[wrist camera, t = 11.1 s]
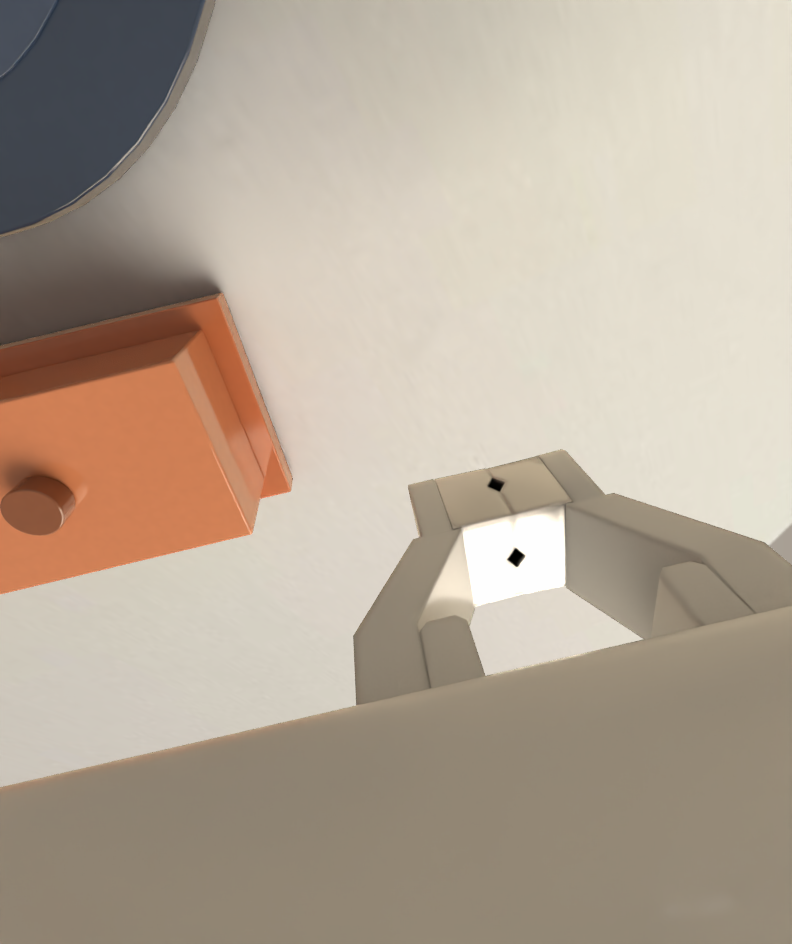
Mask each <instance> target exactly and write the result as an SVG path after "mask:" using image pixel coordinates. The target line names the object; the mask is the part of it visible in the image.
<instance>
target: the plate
mask: <svg viewBox="0 0 792 944" xmlns="http://www.w3.org/2000/svg"><path fill="white" fill-rule="evenodd" d="M214 6H215V0H0V237H3V236H9V235H12V234H15V233H18V232H21V231H25V230H28V229H31V228H34V227H38V226H41V225H44V224H47V223H50V222H52V221H54V220H56V219H58V218H60V217H62V216H64V215H66V214H67V213H69V212H71V211H73V210H75V209H77V208H79V207H81V206H83V205H85V204H87V203H88V202H89V201H91V200H92V199H93V198H95V197H96V196H97V195H99V194H100V193H101V192H103V191H104V190H105V189H107V188H108V187H109V186H111V185H112V184H113V183H115V182H116V181H117V180H119V179H120V178H121V177H122V176H123V175H124V174H125V172H126V171H127V170H128V169H129V168H130V167H131V166H132V165H133V164H134V163H135V162H136V161H137V160H138V159H139V158H140V157H141V155H142V154H143V153H144V152H145V151H146V150H147V149H148V148H149V147H150V145H151V144H152V142H153V141H154V139H155V138H156V136H157V135H158V133H159V132H160V130H161V129H162V127H163V126H164V124H165V123H166V121H167V120H168V118H169V117H170V115H171V114H172V112H173V111H174V109H175V108H176V106H177V104H178V101H179V99H180V97H181V95H182V93H183V91H184V89H185V86H186V84H187V82H188V80H189V78H190V76H191V74H192V71H193V69H194V67H195V65H196V63H197V61H198V57H199V54H200V51H201V48H202V44H203V41H204V38H205V35H206V32H207V28H208V25H209V22H210V19H211V15H212V12H213V9H214Z"/></svg>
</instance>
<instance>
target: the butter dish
mask: <svg viewBox="0 0 792 944" xmlns="http://www.w3.org/2000/svg"><path fill="white" fill-rule="evenodd" d="M292 480H293V478H292V476H291V473H290V470H289V468H288V465H287V462H286V460H285V457H284V454H283V452H282V449H281V446H280V444H279V441H278V438H277V436H276V433H275V430H274V428H273V425H272V422H271V420H270V417H269V414H268V412H267V409H266V406H265V404H264V401H263V398H262V396H261V393H260V390H259V388H258V385H257V382H256V380H255V377H254V374H253V372H252V369H251V366H250V364H249V361H248V358H247V356H246V353H245V350H244V348H243V345H242V342H241V340H240V337H239V335H238V332H237V329H236V327H235V324H234V321H233V319H232V316H231V313H230V311H229V308H228V305H227V303H226V300H225V297H224V295H223V293H218V294H214V295H209V296H205V297H201V298H197V299H193V300H188V301H184V302H180V303H176V304H172V305H168V306H163V307H159V308H155V309H151V310H147V311H142V312H138V313H134V314H130V315H126V316H122V317H117V318H113V319H109V320H105V321H101V322H96V323H92V324H88V325H84V326H80V327H75V328H71V329H67V330H63V331H59V332H55V333H50V334H46V335H42V336H38V337H34V338H29V339H25V340H21V341H17V342H13V343H9V344H4V345H0V594H4V593H8V592H12V591H17V590H21V589H25V588H29V587H33V586H37V585H42V584H46V583H50V582H54V581H58V580H62V579H67V578H71V577H75V576H79V575H83V574H87V573H92V572H96V571H100V570H104V569H108V568H113V567H117V566H121V565H125V564H129V563H133V562H138V561H142V560H146V559H150V558H154V557H158V556H163V555H167V554H171V553H175V552H179V551H183V550H188V549H192V548H196V547H200V546H204V545H208V544H213V543H217V542H221V541H225V540H229V539H233V538H238V537H242V536H246V535H250V534H252V533H253V529H254V524H255V520H256V515H257V511H258V506H259V502H260V499H261V498H265V497H270V496H274V495H278V494H282V493H286V492H290V491H291V488H292Z"/></svg>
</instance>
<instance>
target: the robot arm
mask: <svg viewBox="0 0 792 944" xmlns="http://www.w3.org/2000/svg"><path fill="white" fill-rule="evenodd" d="M408 490H409V494H410V499H411V504H412V508H413V513H414V517H415V522H416V526H417V531H418V535H419V538H416V539H413V540H412V542H411V543H410V545H409V547H408V548H407V550H406V552H405V553H404V555H403V556H402V558H401V560H400V561H399V563H398V564H397V566H396V568H395V569H394V571H393V573H392V574H391V576H390V577H389V579H388V581H387V582H386V584H385V586H384V587H383V589H382V590H381V592H380V594H379V595H378V597H377V598H376V600H375V602H374V603H373V605H372V607H371V608H370V610H369V611H368V613H367V615H366V616H365V618H364V620H363V621H362V623H361V624H360V626H359V628H358V629H357V631H356V632H355V634H354V636H353V639H354V662H355V686H356V706H352V707H348V708H343V709H339V710H335V711H330V712H326V713H322V714H317V715H313V716H308V717H304V718H300V719H295V720H291V721H287V722H282V723H278V724H274V725H269V726H265V727H261V728H256V729H252V730H247V731H243V732H239V733H234V734H230V735H226V736H221V737H217V738H213V739H208V740H204V741H200V742H195V743H191V744H186V745H182V746H178V747H173V748H169V749H165V750H160V751H156V752H152V753H147V754H143V755H139V756H134V757H130V758H125V759H121V760H117V761H112V762H108V763H104V764H99V765H95V766H91V767H86V768H82V769H78V770H73V771H69V772H64V773H60V774H56V775H51V776H47V777H43V778H38V779H34V780H30V781H25V782H21V783H16V784H12V785H8V786H3V787H0V944H792V565H791V564H790V563H789V562H787V561H786V560H785V559H784V558H783V557H781V556H780V555H779V554H778V553H777V552H775V551H774V550H773V549H772V548H771V547H769V546H768V545H767V544H766V543H764V542H761V541H758V540H755V539H752V538H749V537H746V536H743V535H740V534H737V533H734V532H731V531H728V530H725V529H722V528H719V527H716V526H713V525H710V524H707V523H704V522H701V521H697V520H694V519H691V518H688V517H685V516H682V515H679V514H676V513H673V512H670V511H667V510H664V509H661V508H658V507H655V506H652V505H649V504H646V503H643V502H640V501H636V500H633V499H630V498H627V497H624V496H621V495H618V494H615V493H612V494H607V495H605V494H604V493H603V491H602V490H601V489H600V488H599V487H598V486H597V485H596V484H595V483H594V481H593V480H592V479H591V478H590V477H589V476H588V475H587V474H586V473H585V471H584V470H583V469H582V468H581V467H580V466H579V465H578V464H577V463H576V462H575V460H574V459H573V458H572V457H571V456H570V455H569V454H568V453H567V452H566V451H565V450H562V449H560V450H557V451H553V452H549V453H545V454H542V455H538V456H536V457H532V458H528V459H524V460H520V461H516V462H512V463H508V464H504V465H500V466H496V467H492V468H488V469H480V470H475V471H470V472H465V473H461V474H456V475H451V476H446V477H442V478H437V479H434V480H433V479H431V480H427V481H423V482H419V483H414V484H410V485H408ZM562 586H566V588H567V589H569V590H570V591H572V592H573V593H575V594H576V595H578V596H579V597H581V598H582V599H584V600H585V601H587V602H588V603H590V604H591V605H593V606H594V607H596V608H598V609H599V610H601V611H602V612H604V613H605V614H607V615H608V616H610V617H611V618H613V619H614V620H616V621H617V622H619V623H620V624H622V625H623V626H625V627H626V628H628V629H629V630H631V631H632V632H634V633H635V634H637V635H638V636H640V637H641V638H643V639H644V640H639V641H635V642H631V643H626V644H622V645H618V646H613V647H609V648H604V649H600V650H596V651H591V652H587V653H583V654H578V655H574V656H570V657H565V658H561V659H557V660H552V661H548V662H544V663H539V664H535V665H531V666H526V667H522V668H517V669H513V670H509V671H504V672H500V673H496V674H491V675H487V676H485V673H484V670H483V667H482V664H481V661H480V658H479V655H478V652H477V649H476V646H475V643H474V640H473V637H472V634H471V631H470V628H469V626H470V623H471V620H472V617H473V613H474V610H475V608H474V607H475V606H479V605H483V604H487V603H490V602H494V601H498V600H502V599H506V598H510V597H514V596H518V595H522V594H527V593H532V592H537V591H542V590H547V589H552V588H557V587H562Z"/></svg>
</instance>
